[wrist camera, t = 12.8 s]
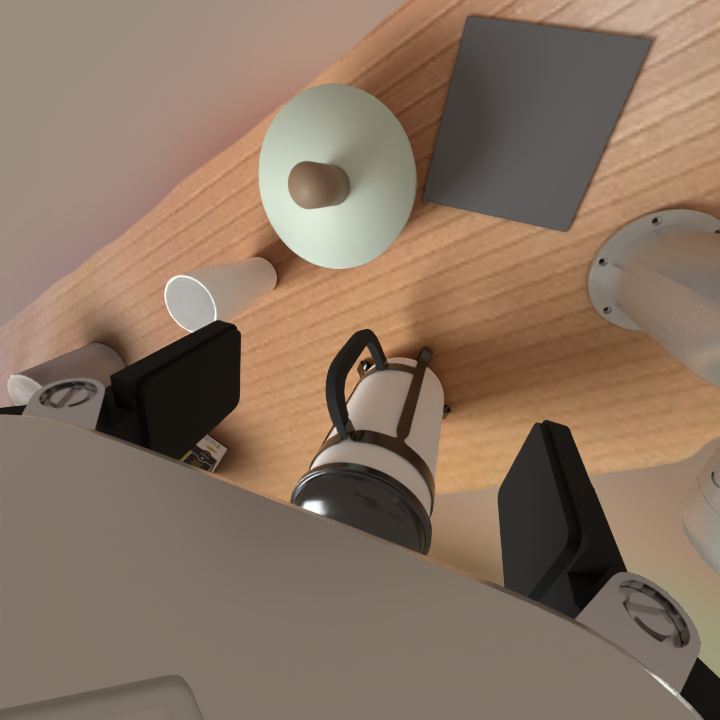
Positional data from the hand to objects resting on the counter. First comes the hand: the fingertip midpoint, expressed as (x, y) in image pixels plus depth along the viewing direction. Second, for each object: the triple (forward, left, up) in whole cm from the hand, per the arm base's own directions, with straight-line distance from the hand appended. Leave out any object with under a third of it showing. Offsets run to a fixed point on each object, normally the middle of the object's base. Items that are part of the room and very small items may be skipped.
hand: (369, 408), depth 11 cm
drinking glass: (+24, +10, -36) cm, 45 cm away
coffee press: (+1, +20, -36) cm, 42 cm away
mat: (-4, -12, -36) cm, 38 cm away
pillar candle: (+56, +36, -36) cm, 76 cm away
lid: (+12, -4, -28) cm, 31 cm away
